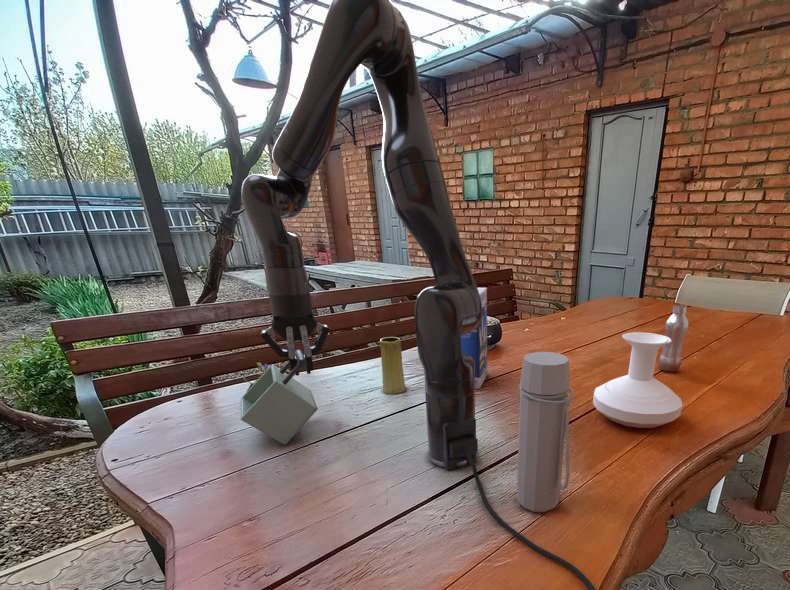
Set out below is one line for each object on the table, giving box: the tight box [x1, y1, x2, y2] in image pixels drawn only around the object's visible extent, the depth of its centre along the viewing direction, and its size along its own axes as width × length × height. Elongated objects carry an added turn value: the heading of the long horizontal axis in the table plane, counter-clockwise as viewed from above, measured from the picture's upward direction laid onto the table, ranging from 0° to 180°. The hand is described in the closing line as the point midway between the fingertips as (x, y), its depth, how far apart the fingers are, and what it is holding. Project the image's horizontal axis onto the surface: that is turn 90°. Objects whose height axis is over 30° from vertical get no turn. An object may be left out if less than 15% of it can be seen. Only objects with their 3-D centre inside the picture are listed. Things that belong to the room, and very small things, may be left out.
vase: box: [379, 336, 407, 395], centre depth 114 cm, size 6×6×14 cm
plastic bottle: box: [657, 304, 690, 372], centre depth 129 cm, size 6×7×20 cm
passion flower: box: [242, 362, 291, 392], centre depth 110 cm, size 11×11×12 cm
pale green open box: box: [240, 349, 319, 446], centre depth 90 cm, size 12×16×10 cm
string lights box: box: [461, 287, 488, 390], centre depth 119 cm, size 13×8×26 cm, turn 171°
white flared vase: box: [592, 331, 683, 429], centre depth 98 cm, size 20×20×19 cm
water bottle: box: [516, 351, 575, 513], centre depth 65 cm, size 9×8×25 cm
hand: (303, 373), depth 90 cm, fingers closed on pale green open box
